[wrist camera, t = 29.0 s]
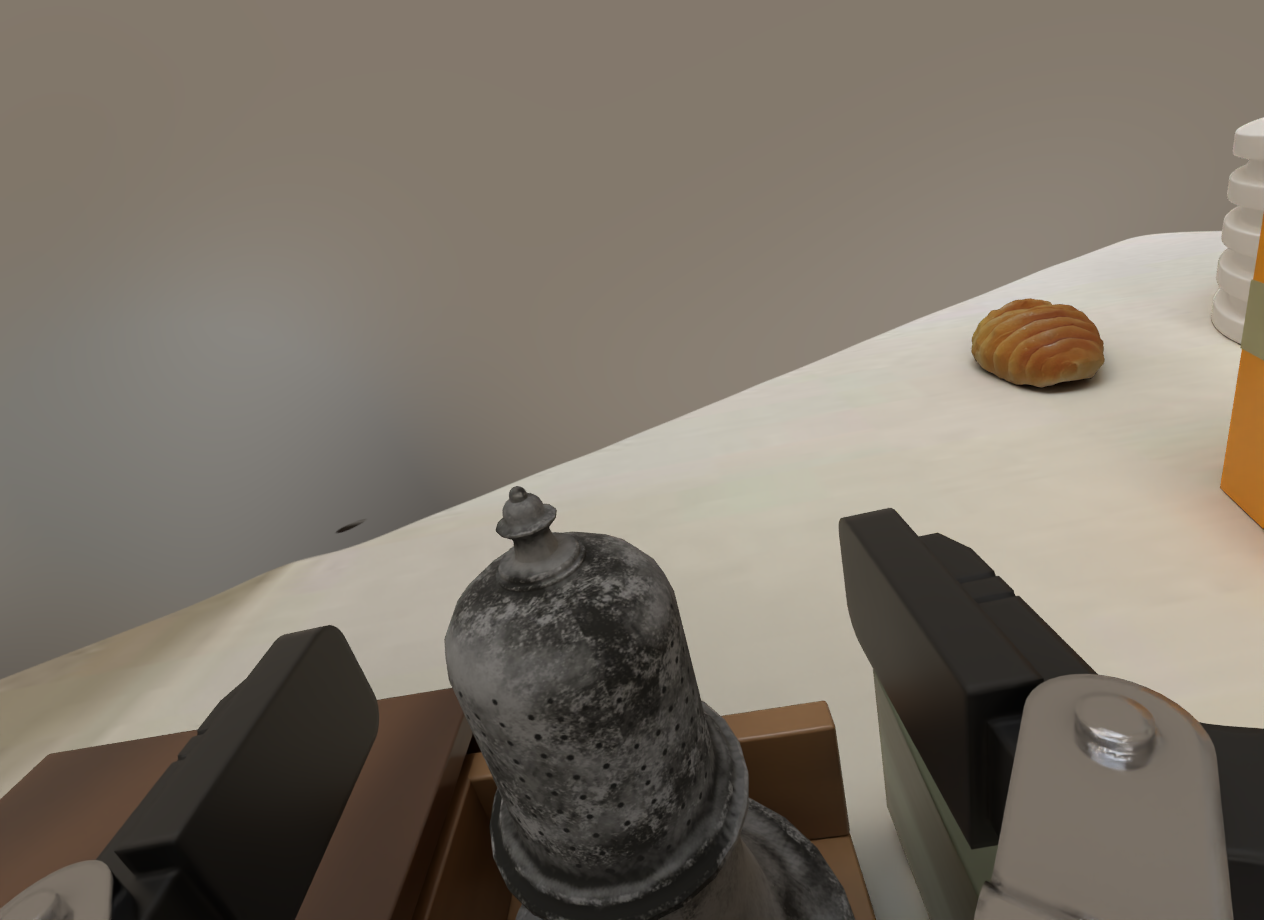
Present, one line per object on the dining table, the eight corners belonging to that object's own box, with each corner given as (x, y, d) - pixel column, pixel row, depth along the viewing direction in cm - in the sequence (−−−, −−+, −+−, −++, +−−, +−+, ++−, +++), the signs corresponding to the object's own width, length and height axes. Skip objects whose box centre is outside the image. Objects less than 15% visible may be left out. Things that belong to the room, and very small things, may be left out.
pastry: (1139, 382, 36) (1144, 317, 34) (1009, 402, 37) (1008, 341, 36) (1065, 341, 44) (1067, 287, 43) (961, 358, 46) (960, 307, 44)
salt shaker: (750, 845, 15) (636, 366, 10) (971, 1147, 10) (945, 462, 5) (519, 1002, 13) (252, 503, 8) (643, 1480, 8) (129, 875, 3)
